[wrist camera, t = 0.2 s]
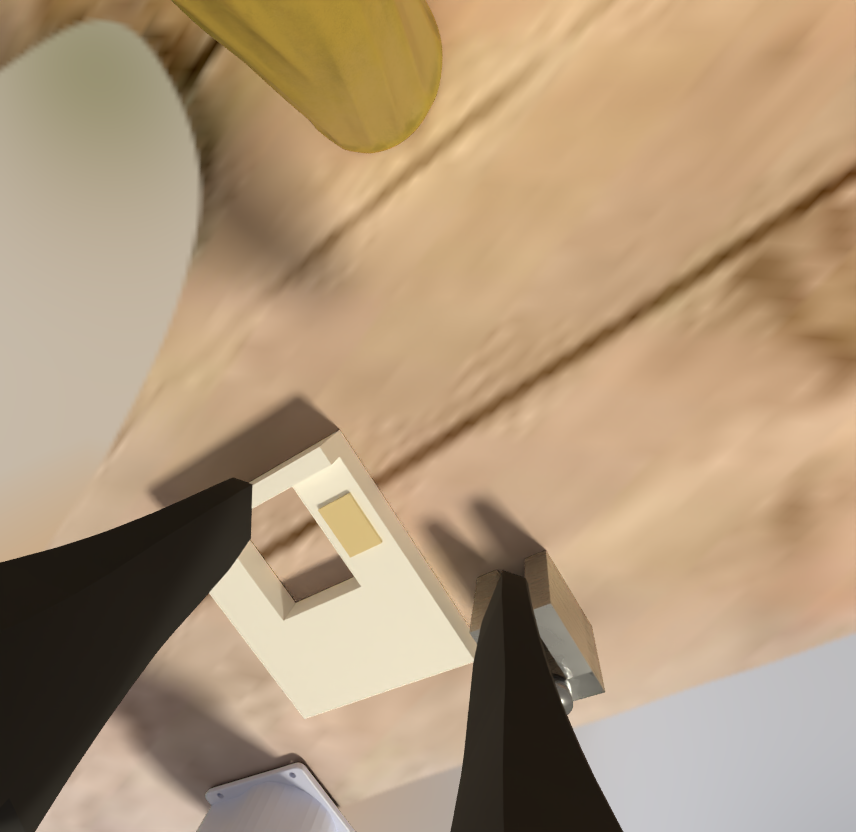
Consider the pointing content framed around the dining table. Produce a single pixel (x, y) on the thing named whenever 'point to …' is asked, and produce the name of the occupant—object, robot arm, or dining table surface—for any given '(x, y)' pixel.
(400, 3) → the vase
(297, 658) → the frame
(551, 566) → the clip
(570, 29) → the dining table surface
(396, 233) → the dining table surface
